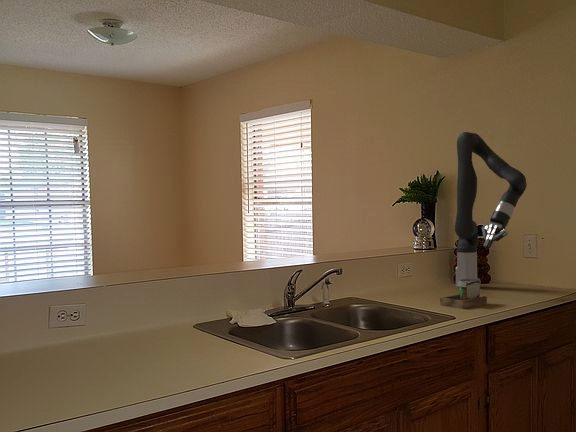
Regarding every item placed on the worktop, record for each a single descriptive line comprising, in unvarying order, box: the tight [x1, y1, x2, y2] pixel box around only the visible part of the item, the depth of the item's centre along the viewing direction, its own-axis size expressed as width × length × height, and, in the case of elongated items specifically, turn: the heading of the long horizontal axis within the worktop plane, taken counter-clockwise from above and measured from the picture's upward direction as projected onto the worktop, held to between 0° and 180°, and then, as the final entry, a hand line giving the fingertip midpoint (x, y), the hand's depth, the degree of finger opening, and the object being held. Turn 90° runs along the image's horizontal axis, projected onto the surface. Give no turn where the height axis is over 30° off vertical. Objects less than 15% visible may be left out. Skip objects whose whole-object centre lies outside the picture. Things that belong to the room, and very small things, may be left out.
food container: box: [458, 278, 482, 301], centre depth 220 cm, size 12×6×10 cm, turn 133°
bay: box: [439, 293, 488, 310], centre depth 220 cm, size 11×16×3 cm
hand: (486, 247), depth 237 cm, fingers closed
